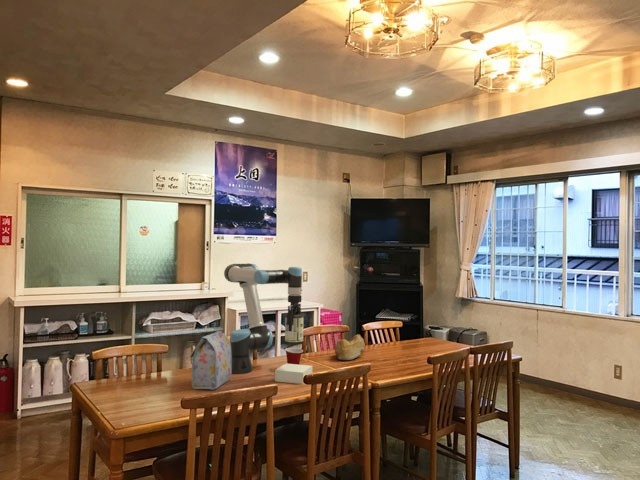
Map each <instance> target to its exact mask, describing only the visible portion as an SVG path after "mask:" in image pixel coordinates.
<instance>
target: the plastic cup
mask: <svg viewBox="0 0 640 480" xmlns="http://www.w3.org/2000/svg"><path fill="white" fill-rule="evenodd" d="M284 350H285V355H286V361H287V362H286V364H297V365H301V364H300V362H301V358H302V354H303V352H304V350H303V349H301V348H296V347H288V348H287V347H286V348H285V349H284Z"/></svg>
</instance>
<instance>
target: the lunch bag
mask: <svg viewBox="0 0 640 480" xmlns="http://www.w3.org/2000/svg"><path fill="white" fill-rule="evenodd" d="M189 357H190V358H192V359H191V360H192V361H191V387H192V389H193V390H212V391H213V390H217V389H218V388H219V387H220V386H222V385H223V384H225V383H227V382H229V381H231V379H232V374H233V373H232V354H231V343H230V338H229V337H228V336H227V335H226V333H225V332H223V331H222V330H220V331H219V330H217V331H215V332H213V333H212V332H211V333H210V334H207V335H204V336H202V337H201V339H200V341H199V342H198V343H197V345H196V346H195V348H194V349H193V351H192V352H191V353H190V356H189Z"/></svg>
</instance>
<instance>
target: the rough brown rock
mask: <svg viewBox="0 0 640 480" xmlns="http://www.w3.org/2000/svg"><path fill="white" fill-rule="evenodd" d="M364 340H365V339H364V338H363V337H362V336H361V334H358V333H357V334H356V335H354V336H352V337H351V338H350V339H349V340H347V339H345V338H343V339H339V340H337V341H336V344H335V348H334V353H335V357H336V358H337V360H339V361H351V360H354V359H356V358H359V357H361V355H362V352H364V350H366V344H365V341H364Z"/></svg>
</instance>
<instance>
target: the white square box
mask: <svg viewBox="0 0 640 480" xmlns="http://www.w3.org/2000/svg"><path fill="white" fill-rule="evenodd" d="M311 373H312V374H313V365H307V364H299V365H297V364H288V363H284V364H282V365H280V366H279V367H278V368H276V369H275V370H274V382H278V383H279V382H281V383H290V384H299V385H303V377H304V376H305V375H307V374H311Z"/></svg>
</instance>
